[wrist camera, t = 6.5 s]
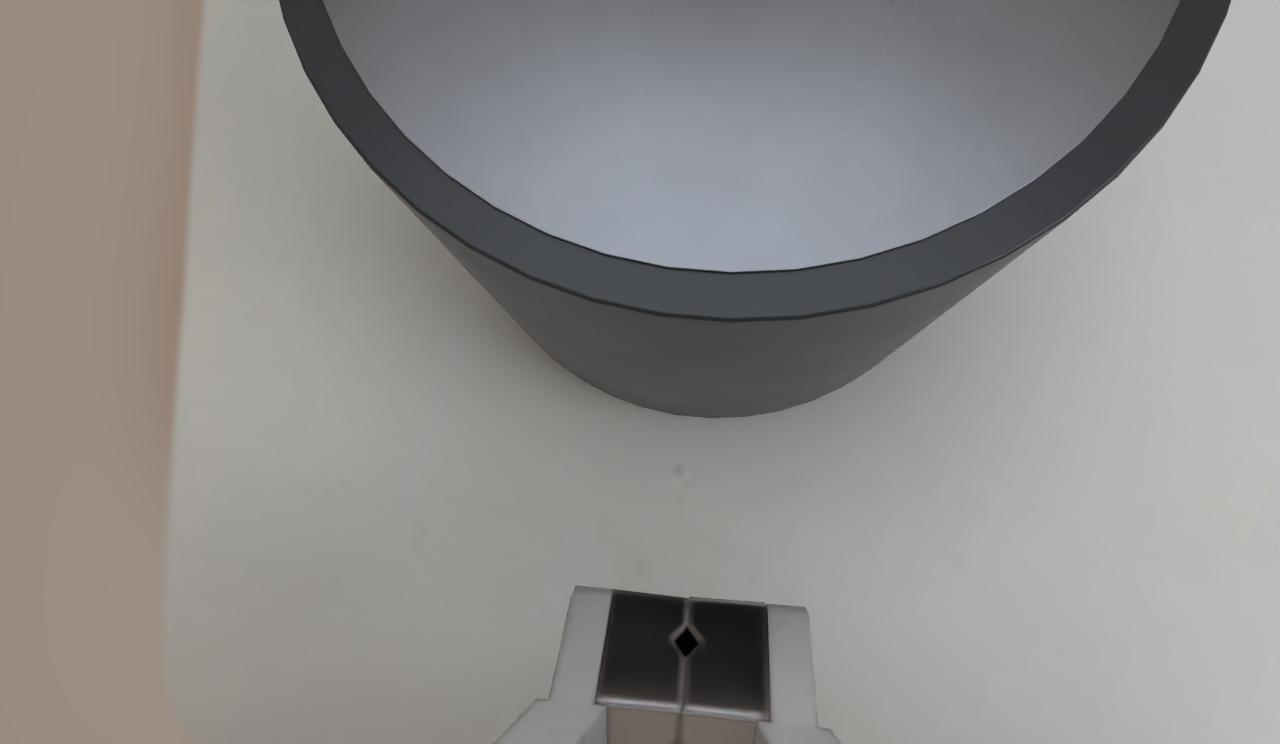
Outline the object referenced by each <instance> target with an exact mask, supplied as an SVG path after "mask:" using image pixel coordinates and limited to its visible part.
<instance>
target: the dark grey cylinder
mask: <svg viewBox="0 0 1280 744" xmlns="http://www.w3.org/2000/svg"><path fill="white" fill-rule="evenodd" d="M279 2H280V6H281V10H282V14H283V19H284V21H285V24H286V26H287V29H288V31H289V34H290V36H291V39H292V41H293V44H294V46H295V49H296V51H297V54H298V56H299V59H300V61H301V64H302V66H303V69H304V71H305V73H306V75H307V77H308V78H309V80H310V82H311V84H312V85H313V87H314V89H315V90H316V92H317V94H318V96H319V97H320V99H321V101H322V102H323V104H324V106H325V108H326V109H327V111H328V113H329V114H330V116H331V118H332V119H333V121H334V123H335V124H336V125H337V127H338V128H339V129H340V130H341V132H342V133H343V134H344V135H345V137H346V138H347V139H348V140H349V142H350V143H351V144H352V145H353V147H354V148H355V149H356V150H357V152H358V153H359V154H360V155H361V157H362V158H363V159H364V160H365V162H366V163H367V164H368V165H369V167H370V168H371V169H372V170H373V171H374V172H375V173H376V174H377V176H378V177H379V178H380V179H381V180H382V181H383V182H384V183H385V184H386V185H387V186H388V187H389V188H390V189H391V190H392V191H393V192H394V193H395V194H396V196H397V197H398V198H399V199H400V200H401V201H402V202H403V203H404V204H405V205H406V206H407V207H408V208H409V209H410V210H411V211H412V212H413V213H414V214H415V216H416V217H417V218H418V219H419V220H420V221H421V222H422V223H423V224H424V225H425V226H426V227H427V228H428V229H429V230H430V231H431V232H432V233H433V234H434V236H435V237H436V238H437V239H438V240H439V241H440V242H441V243H442V244H443V245H444V246H445V247H446V248H447V249H448V250H449V251H450V252H451V253H452V254H453V256H454V257H455V258H456V259H457V260H458V261H459V262H460V263H461V264H462V265H463V266H464V267H465V268H466V269H467V270H468V271H469V272H470V273H471V274H472V276H473V277H474V278H475V279H476V280H477V281H478V282H479V283H480V284H481V285H482V286H483V287H484V288H485V289H486V290H487V291H488V292H489V293H490V295H491V296H492V297H493V298H494V299H495V300H496V301H497V302H498V303H499V304H500V305H501V306H502V307H503V308H504V309H505V310H506V311H507V312H508V313H509V315H510V316H511V317H512V318H513V319H514V320H515V321H516V322H517V323H518V324H519V325H520V326H521V327H522V328H523V329H524V330H525V331H526V332H527V333H528V335H529V336H530V337H531V338H532V339H533V340H534V341H535V342H536V343H538V344H539V345H540V346H541V347H542V348H543V349H544V350H545V351H546V352H547V353H548V354H549V355H550V356H551V357H552V358H553V359H555V360H556V361H557V362H558V363H560V364H561V365H562V366H564V367H565V368H567V369H568V370H569V371H571V372H572V373H574V374H575V375H576V376H578V377H579V378H581V379H582V380H584V381H586V382H587V383H589V384H591V385H593V386H595V387H597V388H599V389H601V390H602V391H604V392H606V393H608V394H610V395H612V396H615V397H617V398H620V399H623V400H625V401H628V402H631V403H633V404H636V405H639V406H642V407H645V408H649V409H654V410H658V411H662V412H667V413H671V414H675V415H685V416H696V417H706V418H721V417H745V416H751V415H757V414H763V413H769V412H775V411H780V410H783V409H786V408H790V407H793V406H796V405H800V404H803V403H806V402H810V401H812V400H814V399H817V398H819V397H821V396H823V395H825V394H828V393H830V392H832V391H834V390H836V389H839V388H841V387H843V386H844V385H846V384H847V383H849V382H851V381H852V380H854V379H855V378H857V377H859V376H860V375H862V374H863V373H865V372H867V371H868V370H870V369H871V368H873V367H874V366H875V365H876V364H878V363H879V362H880V361H882V360H883V359H884V358H886V357H887V356H888V355H890V354H891V353H892V352H894V351H895V350H896V349H897V348H899V347H900V346H901V345H903V344H904V343H905V342H907V341H908V340H909V339H911V338H912V337H913V336H914V335H916V334H917V333H918V332H920V331H921V330H922V329H924V328H925V327H926V326H928V325H929V324H930V323H932V322H933V321H934V320H935V319H937V318H938V317H939V316H941V315H942V314H943V313H945V312H946V311H947V310H949V309H950V308H951V307H952V306H954V305H955V304H956V303H958V302H959V301H960V300H962V299H963V298H964V297H966V296H967V295H968V294H970V293H971V292H972V291H973V290H975V289H976V288H977V287H979V286H980V285H981V284H983V283H984V282H985V281H987V280H988V279H989V278H990V277H992V276H993V275H994V274H996V273H997V272H998V271H1000V270H1001V269H1002V268H1004V267H1005V266H1006V265H1008V264H1009V263H1010V262H1011V261H1013V260H1014V259H1015V258H1017V257H1018V256H1019V255H1021V254H1022V253H1023V252H1025V251H1026V250H1027V249H1028V248H1030V247H1031V246H1032V245H1034V244H1035V243H1036V242H1038V241H1039V240H1040V239H1042V238H1043V237H1044V236H1046V235H1047V234H1048V233H1049V232H1051V231H1052V230H1053V229H1055V228H1056V227H1057V226H1059V225H1060V224H1061V223H1063V222H1064V221H1065V220H1066V219H1068V218H1069V217H1070V216H1071V215H1072V214H1074V213H1075V212H1076V211H1077V210H1078V209H1080V208H1081V207H1082V206H1083V205H1084V204H1086V203H1087V202H1088V201H1089V200H1090V199H1092V198H1093V197H1094V196H1095V195H1096V194H1098V193H1099V192H1100V191H1101V190H1102V189H1104V188H1105V187H1106V186H1107V185H1108V184H1110V183H1111V182H1112V181H1113V180H1114V179H1116V178H1117V177H1118V176H1119V175H1120V174H1121V173H1122V172H1123V170H1124V169H1125V168H1126V167H1127V166H1128V165H1129V164H1130V163H1131V162H1132V160H1133V159H1134V158H1135V157H1136V156H1137V155H1138V154H1139V153H1140V152H1141V151H1142V149H1143V148H1144V147H1145V146H1146V145H1147V144H1148V143H1149V142H1150V141H1151V140H1152V138H1153V137H1154V136H1155V135H1156V134H1157V133H1158V132H1159V131H1160V130H1161V129H1162V127H1163V126H1164V124H1165V123H1166V122H1167V120H1168V119H1169V117H1170V116H1171V114H1172V113H1173V111H1174V110H1175V108H1176V107H1177V105H1178V104H1179V102H1180V101H1181V99H1182V98H1183V96H1184V95H1185V93H1186V92H1187V90H1188V89H1189V87H1190V86H1191V84H1192V83H1193V81H1194V80H1195V78H1196V77H1197V75H1198V74H1199V72H1200V70H1201V68H1202V66H1203V64H1204V62H1205V60H1206V57H1207V55H1208V53H1209V51H1210V49H1211V47H1212V45H1213V43H1214V41H1215V38H1216V36H1217V34H1218V32H1219V30H1220V28H1221V26H1222V24H1223V22H1224V20H1225V17H1226V15H1227V12H1228V8H1229V5H1230V2H1231V0H279Z"/></svg>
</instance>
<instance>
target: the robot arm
mask: <svg viewBox="0 0 1280 744" xmlns="http://www.w3.org/2000/svg"><path fill="white" fill-rule="evenodd" d="M493 744H841V743H840V742H839V740H838V739H837V737H836V736H835V735H834V733H833V732H832V730H831V729H826V728H820V727H818V718H817V706H816V694H815V682H814V670H813V659H812V647H811V635H810V623H809V614H808V612H807V610H806V608H805V607H798V606H787V605H775V604H766V605H765V603H764V602H751V601H738V600H726V599H713V598H700V597H689V598H683V597H674V596H666V595H657V594H649V593H641V592H632V591H624V590H616V589H606V588H596V587H586V586H577V585H576V586H575V589H574V591H573V593H572V595H571V598H570V603H569V608H568V612H567V617H566V621H565V626H564V631H563V635H562V640H561V644H560V649H559V654H558V658H557V663H556V667H555V672H554V677H553V681H552V686H551V690H550V695H549V699H539V698H537V699H536V700H535V701H534V702H533V703H532V704H531V705H530V706H529V707H528V708H527V709H526V710H525V711H524V712H523V713H522V714H521V715H520V716H519V717H518V718H517V719H516V720H515V722H514V723H513V724H512V725H511V726H510V727H509V728H508V729H507V730H506V731H505V732H504V733H503V734H502V735H501V736H500V737H499V738H498V739H497V740H496V741H495V742H494V743H493Z"/></svg>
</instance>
